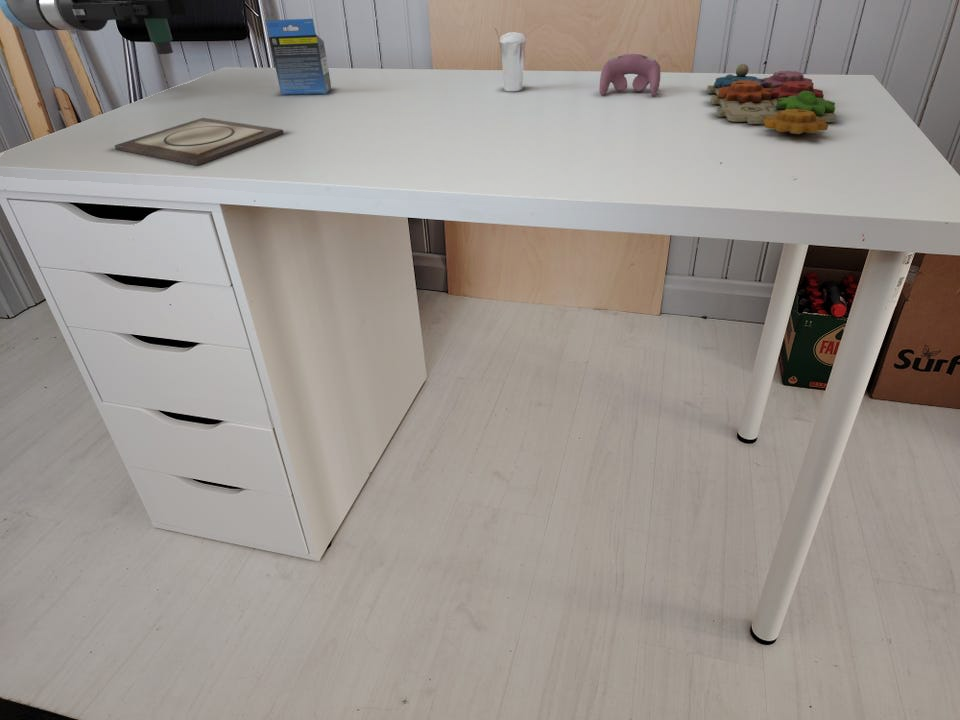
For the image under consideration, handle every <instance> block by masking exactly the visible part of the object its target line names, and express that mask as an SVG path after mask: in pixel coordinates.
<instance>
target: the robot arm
mask: <svg viewBox="0 0 960 720" xmlns="http://www.w3.org/2000/svg"><path fill="white" fill-rule="evenodd" d="M0 10H1V12H2V14H3V16H4V17H5V18H6V19H7V21H9V22H10V23H11V24H13V25H14V26H16V27H18V28H20V29H25V30H32V31H36V32H40V31H69V33H70V34H71V35H75V34H76V33H77V31H81V32H82V31H83V32H97V31H101V30H103V29H104V28H105V27H106V26H107V24H108V21H125V20H127V19H130V21H131V24H139V23H140V21H139V19H141V20H142V19H143V20H145V19H167V20H170V19H173V16H190V11H189V6H188V3H187V0H0Z"/></svg>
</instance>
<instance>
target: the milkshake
mask: <svg viewBox="0 0 960 720" xmlns="http://www.w3.org/2000/svg"><path fill="white" fill-rule="evenodd" d="M494 30H495V32H496V34H497V37H498V40H499V48H500V57H501V58H500V59H501V65H502V76H503V77H502V78H503V88H504V91H506V92H519V91H522V90H523V82H524V67H525V57H526V56H525V55H526V44H527V37H526V36H525V35H524V33H522V32H516V31H508V32H506V33H503V34H502V35H499V33H498V29H497V28H496V27H495V28H494Z"/></svg>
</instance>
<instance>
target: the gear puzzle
mask: <svg viewBox="0 0 960 720" xmlns="http://www.w3.org/2000/svg"><path fill="white" fill-rule="evenodd" d="M749 71H750V70H749V66H748V65H747V64H746V63H741V64H739V65H738V66H737V67H736V68H735V75H734V74H731V73H729V74H726V75H725V76H720V77H716V78H715V81H714V83H713V85H711V84H710V85H707V89H706V91H707V93H708V94H716V95H711V97H710V103H711V105H718V106H719V105H720V106H721V107H717V108H716V112H715V114H716V116H717V117H718V118H719V117H720V118H726V119H727V121H729V122H731V123H747V124H748V125H763V124H764V126H763V127H764V128H766V129H774V130H775V131H776V132H778V133H784V132H789V134H790V135H800V134H802V133H808V134H819V133H818V132H819V131H828V128H829V124H828V123H835V122H836V118H837V115H836V114H835V112H836V106H835V105H836V103H835V101H830V100H826V99H825V98H824V97H825V95H824V91H823V90H822V89H817V88H814V82H813V79H811V78H807V77H804V73H803V72H798V70H797V71H796V70H779V71H775V72H774V73H773V74H772V75H770V76H769V77H763V78H760V77H759V78H758V77H757V76H754V75H753V76H752V75H748V73H749Z"/></svg>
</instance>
